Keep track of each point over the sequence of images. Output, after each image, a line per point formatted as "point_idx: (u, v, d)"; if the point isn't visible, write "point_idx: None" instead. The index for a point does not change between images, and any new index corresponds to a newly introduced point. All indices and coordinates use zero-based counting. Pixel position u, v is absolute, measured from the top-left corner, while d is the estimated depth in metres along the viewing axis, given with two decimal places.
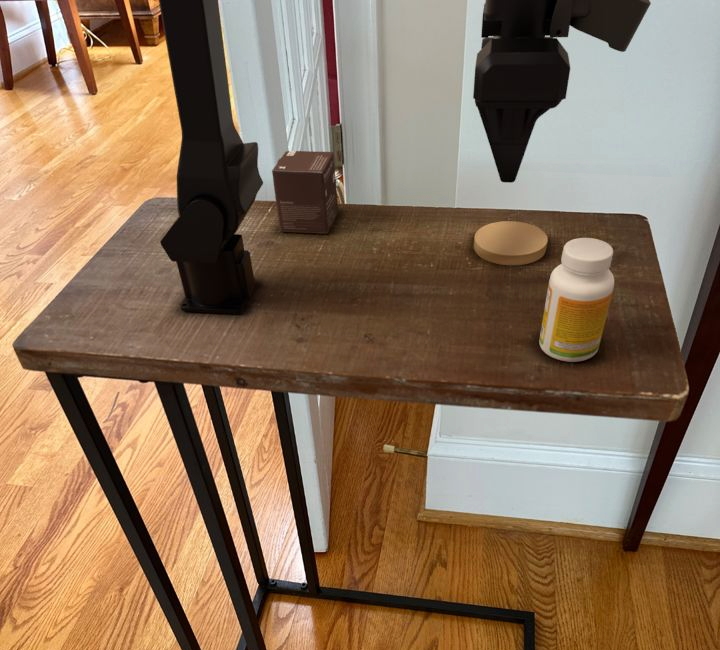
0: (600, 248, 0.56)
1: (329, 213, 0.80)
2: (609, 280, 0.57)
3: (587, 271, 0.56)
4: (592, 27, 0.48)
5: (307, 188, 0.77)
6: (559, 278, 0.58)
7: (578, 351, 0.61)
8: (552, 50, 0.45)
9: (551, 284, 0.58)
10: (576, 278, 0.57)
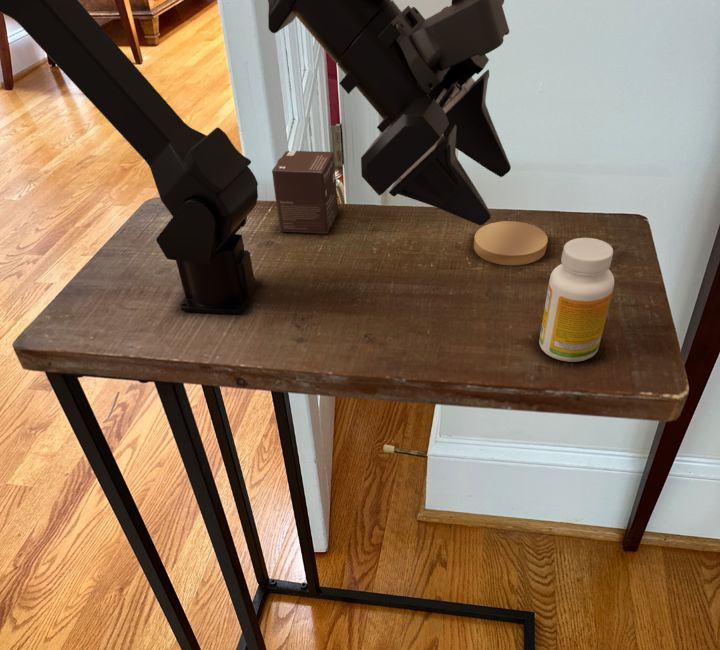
0: (600, 248, 0.56)
1: (329, 213, 0.80)
2: (609, 280, 0.57)
3: (587, 271, 0.56)
4: (454, 56, 0.48)
5: (307, 188, 0.77)
6: (559, 278, 0.58)
7: (578, 351, 0.61)
8: (401, 115, 0.46)
9: (551, 284, 0.58)
10: (576, 278, 0.57)
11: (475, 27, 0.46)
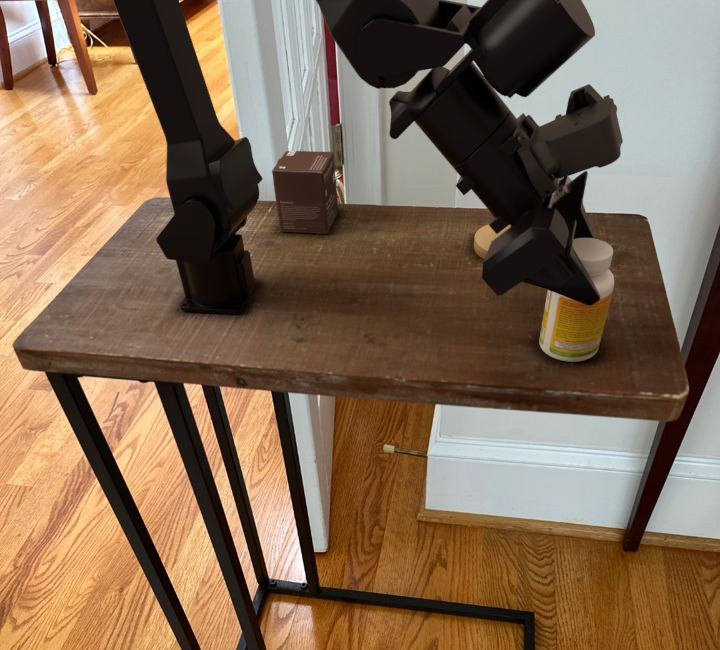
0: (600, 248, 0.56)
1: (329, 213, 0.80)
2: (609, 280, 0.57)
3: (587, 271, 0.56)
4: (573, 167, 0.50)
5: (307, 188, 0.77)
6: None
7: (578, 351, 0.61)
8: (527, 227, 0.48)
9: None
10: None
11: (596, 143, 0.49)
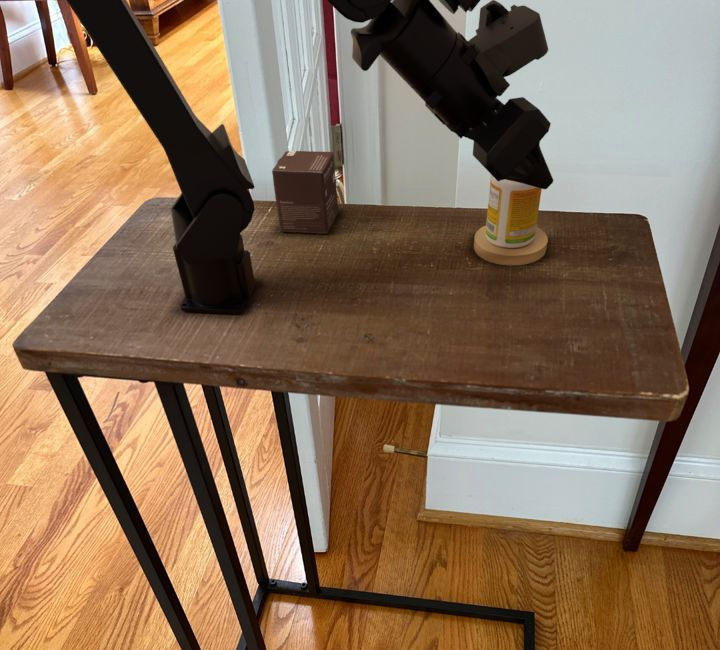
0: None
1: (329, 213, 0.80)
2: None
3: None
4: (518, 64, 0.61)
5: (307, 188, 0.77)
6: None
7: (528, 235, 0.73)
8: (519, 113, 0.58)
9: (499, 184, 0.70)
10: None
11: (535, 38, 0.60)
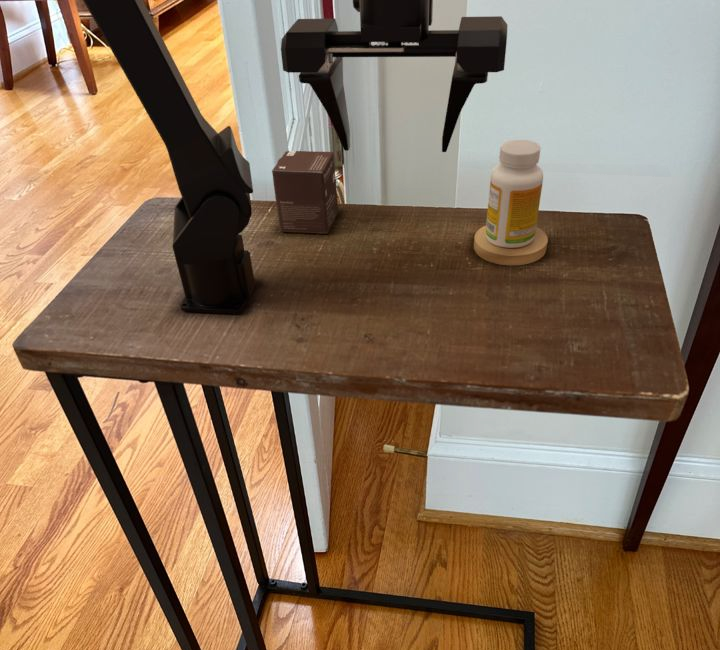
0: (528, 144, 0.69)
1: (329, 213, 0.80)
2: (540, 168, 0.70)
3: (529, 163, 0.68)
4: None
5: (307, 188, 0.77)
6: (506, 176, 0.69)
7: (528, 235, 0.73)
8: (495, 17, 0.57)
9: (499, 184, 0.70)
10: (520, 172, 0.69)
11: None
